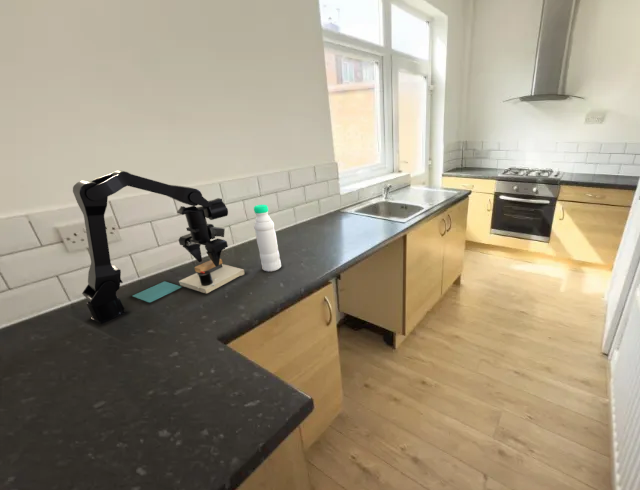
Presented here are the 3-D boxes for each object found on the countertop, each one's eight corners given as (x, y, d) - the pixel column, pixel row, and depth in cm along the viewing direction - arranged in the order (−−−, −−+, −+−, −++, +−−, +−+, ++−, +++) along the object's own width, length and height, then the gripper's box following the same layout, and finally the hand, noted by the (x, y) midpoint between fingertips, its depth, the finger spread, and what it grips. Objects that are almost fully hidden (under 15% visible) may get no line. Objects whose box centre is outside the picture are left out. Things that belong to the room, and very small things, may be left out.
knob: (215, 282, 110) (212, 271, 108) (206, 286, 107) (202, 275, 105) (208, 280, 112) (205, 269, 110) (199, 284, 109) (195, 273, 107)
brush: (202, 277, 114) (199, 268, 112) (196, 275, 115) (194, 267, 114) (223, 266, 121) (221, 258, 120) (217, 265, 122) (215, 257, 121)
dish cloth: (150, 303, 102) (149, 302, 102) (132, 296, 106) (131, 295, 106) (182, 287, 111) (182, 286, 111) (165, 282, 115) (164, 281, 115)
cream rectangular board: (206, 296, 105) (204, 290, 105) (177, 287, 112) (176, 281, 111) (246, 274, 119) (245, 269, 118) (219, 267, 125) (217, 262, 124)
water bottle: (284, 264, 126) (274, 203, 116) (277, 272, 120) (265, 208, 110) (267, 264, 127) (255, 203, 117) (259, 272, 121) (246, 208, 110)
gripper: (235, 220, 113) (244, 259, 120) (200, 214, 121) (211, 251, 127) (207, 229, 104) (218, 272, 111) (172, 222, 112) (184, 262, 118)
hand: (208, 263), depth 117 cm, fingers open, 9 cm apart
